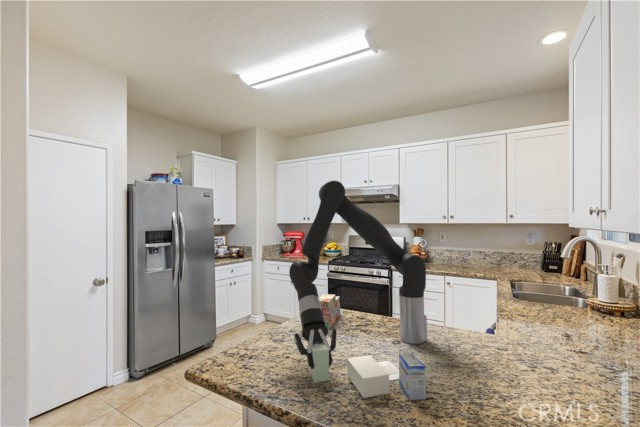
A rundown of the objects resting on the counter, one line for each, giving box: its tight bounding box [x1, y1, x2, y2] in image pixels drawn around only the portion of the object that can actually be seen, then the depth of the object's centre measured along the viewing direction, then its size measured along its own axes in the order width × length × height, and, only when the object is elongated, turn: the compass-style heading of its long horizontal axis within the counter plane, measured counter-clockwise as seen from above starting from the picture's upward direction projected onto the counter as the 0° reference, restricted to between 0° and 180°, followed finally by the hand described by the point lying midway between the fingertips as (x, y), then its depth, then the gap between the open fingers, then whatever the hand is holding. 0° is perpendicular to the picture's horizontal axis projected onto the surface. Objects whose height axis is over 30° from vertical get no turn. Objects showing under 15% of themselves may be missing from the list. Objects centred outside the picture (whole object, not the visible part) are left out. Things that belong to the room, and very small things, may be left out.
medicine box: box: [398, 352, 427, 401], centre depth 80 cm, size 8×4×9 cm, turn 5°
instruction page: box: [376, 360, 399, 382], centre depth 91 cm, size 8×11×1 cm
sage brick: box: [310, 343, 330, 384], centre depth 88 cm, size 4×4×9 cm
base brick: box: [346, 354, 390, 399], centre depth 84 cm, size 8×12×5 cm, turn 15°
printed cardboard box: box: [319, 293, 341, 330], centre depth 139 cm, size 21×6×12 cm, turn 164°
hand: (321, 366), depth 86 cm, fingers closed on sage brick, 4 cm apart
